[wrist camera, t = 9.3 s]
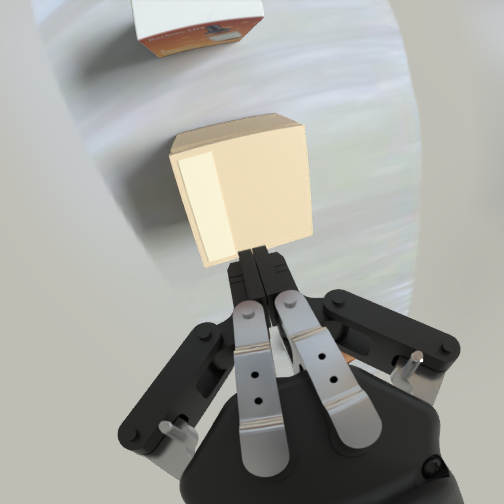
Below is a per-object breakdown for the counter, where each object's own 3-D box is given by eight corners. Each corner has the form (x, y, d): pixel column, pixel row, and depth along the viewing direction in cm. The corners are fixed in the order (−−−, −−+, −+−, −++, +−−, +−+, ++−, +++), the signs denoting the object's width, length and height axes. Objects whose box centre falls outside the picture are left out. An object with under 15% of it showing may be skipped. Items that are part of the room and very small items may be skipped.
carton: (177, 133, 24) (170, 150, 19) (275, 112, 25) (298, 122, 19) (201, 218, 30) (202, 254, 25) (286, 198, 31) (307, 229, 25)
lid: (169, 154, 18) (168, 156, 17) (300, 123, 19) (304, 125, 18) (203, 263, 24) (205, 268, 23) (309, 231, 25) (313, 235, 24)
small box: (158, 58, 19) (133, 43, 11) (150, 12, 16) (124, -24, 7) (241, 42, 20) (267, 18, 11) (233, -4, 16) (254, -47, 8)
